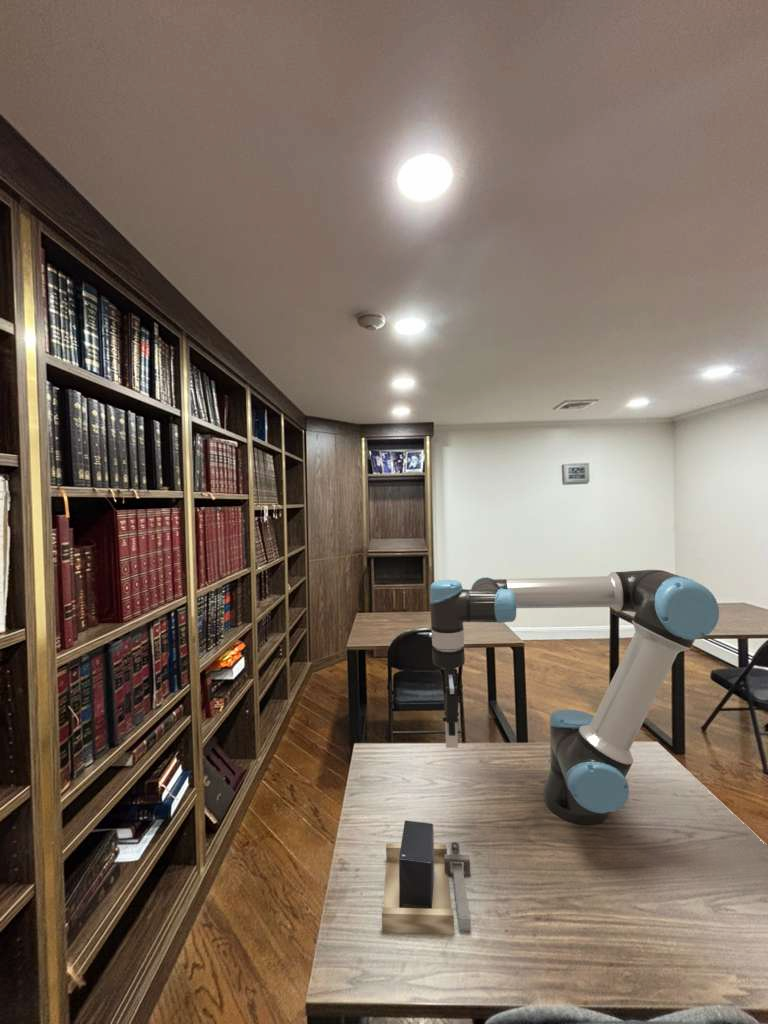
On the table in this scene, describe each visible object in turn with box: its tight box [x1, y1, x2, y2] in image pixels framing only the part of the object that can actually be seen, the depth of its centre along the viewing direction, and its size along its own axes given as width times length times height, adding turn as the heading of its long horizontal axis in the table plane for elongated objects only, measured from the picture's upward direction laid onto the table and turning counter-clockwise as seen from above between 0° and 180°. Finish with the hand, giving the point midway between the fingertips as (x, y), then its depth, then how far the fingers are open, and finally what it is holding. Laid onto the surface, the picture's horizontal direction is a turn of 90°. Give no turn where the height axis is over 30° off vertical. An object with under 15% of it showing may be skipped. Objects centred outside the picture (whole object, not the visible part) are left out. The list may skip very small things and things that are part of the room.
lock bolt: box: [449, 841, 472, 933], centre depth 88 cm, size 2×18×3 cm, turn 177°
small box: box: [399, 820, 435, 909], centre depth 88 cm, size 11×6×10 cm, turn 171°
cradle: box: [381, 843, 471, 935], centre depth 88 cm, size 18×16×4 cm
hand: (452, 745), depth 104 cm, fingers closed
